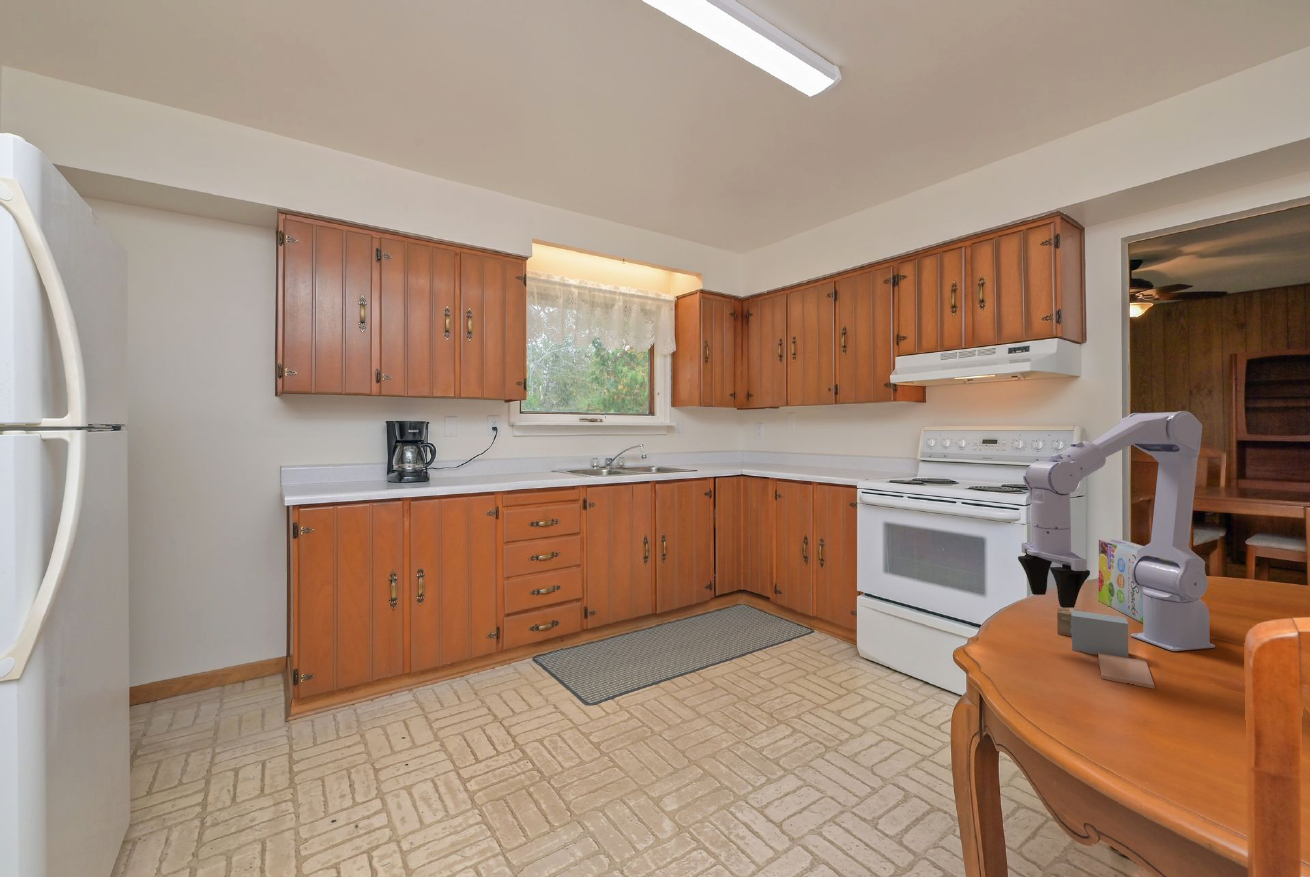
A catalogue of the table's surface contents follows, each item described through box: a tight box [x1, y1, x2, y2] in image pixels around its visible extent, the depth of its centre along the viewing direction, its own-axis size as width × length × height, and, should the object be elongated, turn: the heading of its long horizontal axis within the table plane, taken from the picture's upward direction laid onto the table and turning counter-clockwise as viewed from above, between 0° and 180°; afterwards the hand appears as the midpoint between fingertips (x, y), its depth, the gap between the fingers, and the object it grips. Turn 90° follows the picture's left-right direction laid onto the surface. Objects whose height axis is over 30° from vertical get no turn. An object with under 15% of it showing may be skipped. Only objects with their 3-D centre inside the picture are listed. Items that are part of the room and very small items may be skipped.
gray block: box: [1071, 610, 1129, 658], centre depth 103 cm, size 4×8×6 cm, turn 54°
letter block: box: [1056, 605, 1086, 637], centre depth 112 cm, size 5×4×5 cm
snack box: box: [1097, 538, 1178, 624], centre depth 121 cm, size 21×6×15 cm, turn 168°
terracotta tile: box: [1097, 653, 1155, 690], centre depth 94 cm, size 11×6×1 cm, turn 144°
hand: (1052, 600), depth 102 cm, fingers open, 7 cm apart
